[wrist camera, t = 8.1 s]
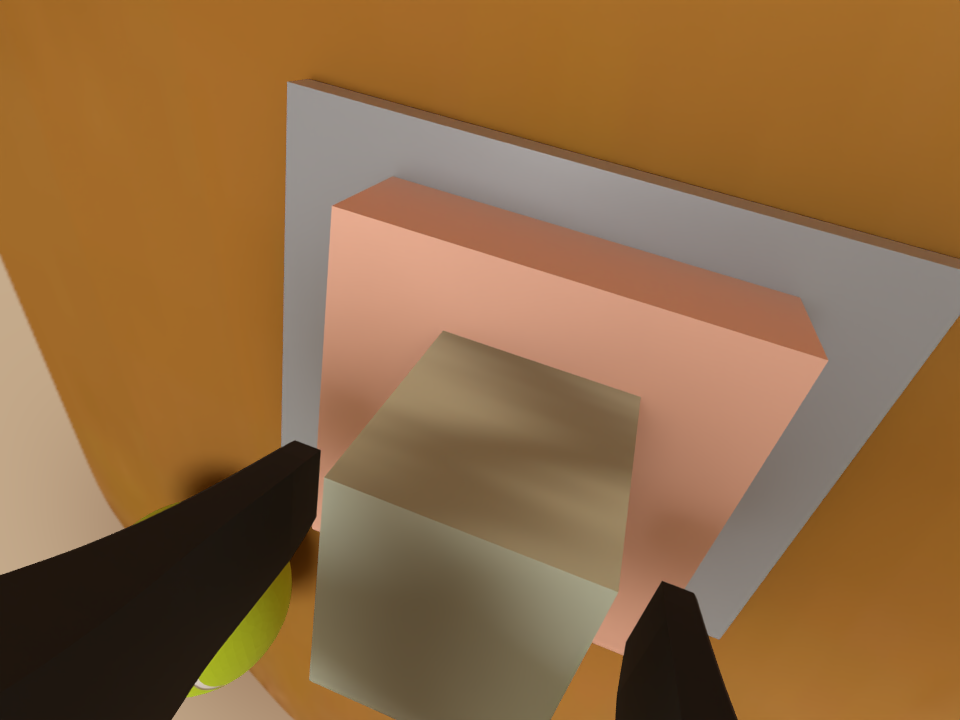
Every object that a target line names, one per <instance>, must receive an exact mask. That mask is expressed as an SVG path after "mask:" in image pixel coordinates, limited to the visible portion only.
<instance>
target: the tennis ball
mask: <svg viewBox="0 0 960 720" xmlns="http://www.w3.org/2000/svg"><path fill="white" fill-rule="evenodd" d="M178 503H180V502H178ZM178 503H174V504H171V505H168V506H166V507H163V508H161V509H158V510H156V511H154V512H152V513H150V514H149V515H147V516H145V517H144V518H142V519H140V520H139V521H138V522H136V523H139V522H141V521H143V520H145V519H147V518H149V517H151V516H153V515H155V514H158V513H160V512H162V511H164V510H166V509H168V508H170V507H172V506H174V505H176V504H178ZM136 523H135V524H136ZM133 525H134V524H133ZM291 591H292V573H291V566H290V561H289V562H288V563H287V565H286V566H285V567H284V569H283V570H282V571H281V572H280V574H279V575H278V576H277V578H276V579H275V580H274V581H273V583H272V584H271V585H270V587H269V588H268V589H267V590H266V592H265V593H264V594H263V595H262V597H261V598H260V599H259V600H258V602H257V603H256V604H255V606H254V607H253V608H252V609H251V611H250V612H249V613H248V614H247V616H246V617H245V618H244V619H243V621H242V622H241V623H240V624H239V626H238V627H237V628H236V629H235V631H234V632H233V633H232V634H231V636H230V637H229V638H228V640H227V641H226V642H225V643H224V645H223V646H222V647H221V648H220V650H219V651H218V652H217V654H216V655H215V656H214V658H213V659H212V660H211V662H210V663H209V664H208V666H207V667H206V669H205V670H204V671H203V673H202V674H201V676H200V677H199V679H198V680H197V682H196V683H195V685H194V686H193V688H192V689H191V691H190V692H189V694H188V695H187V697H193V696H197V695H201V694H205V693H208V692H211V691H213V690H216V689H219V688H221V687H223V686H225V685H227V684H228V683H230V682H232V681H233V680H235V679H237V678H238V677H240V676H241V675H243V674H244V673H245V672H246V671H248V670H249V669H250V668H251V667H252V666H253V665H254V664H255V663H256V662H257V661H258V660H259V659H260V658H261V657H262V656H263V655H264V654H265V652H266V651H267V650H268V648H269V647H270V646H271V644H272V643H273V641H274V640H275V638H276V637H277V635H278V633H279V631H280V629H281V627H282V625H283V622H284V620H285V617H286V614H287V611H288V608H289V604H290V599H291Z"/></svg>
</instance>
